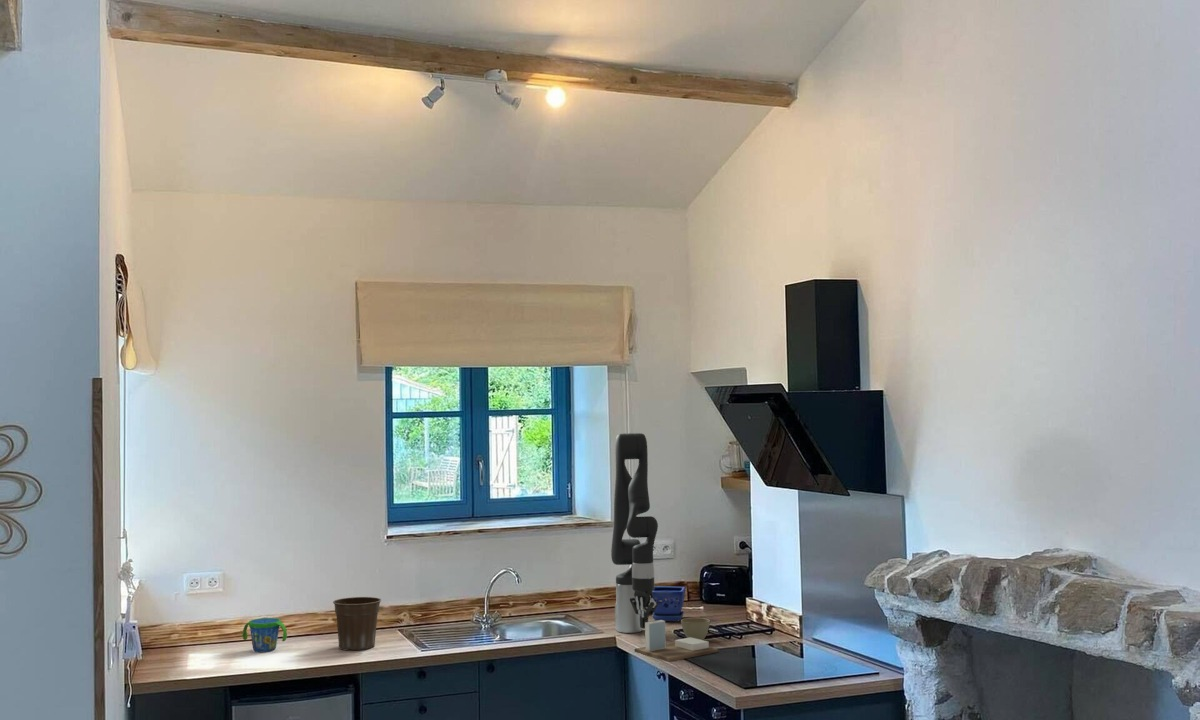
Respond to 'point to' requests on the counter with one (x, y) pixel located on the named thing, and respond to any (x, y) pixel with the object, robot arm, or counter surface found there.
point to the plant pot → (357, 622)
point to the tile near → (655, 635)
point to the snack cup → (264, 633)
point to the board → (675, 652)
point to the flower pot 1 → (668, 603)
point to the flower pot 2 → (695, 627)
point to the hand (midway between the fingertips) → (644, 628)
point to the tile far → (692, 644)
